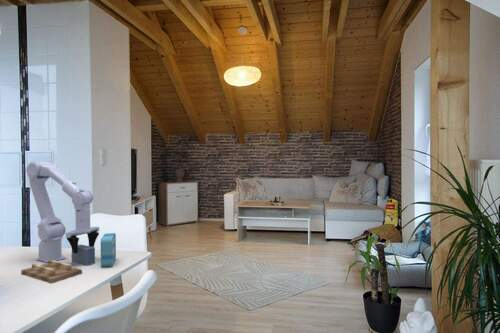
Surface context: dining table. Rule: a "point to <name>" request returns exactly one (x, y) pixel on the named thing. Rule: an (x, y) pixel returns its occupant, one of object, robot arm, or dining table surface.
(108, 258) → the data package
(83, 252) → the slate blue book
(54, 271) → the shelf board
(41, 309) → the dining table surface
